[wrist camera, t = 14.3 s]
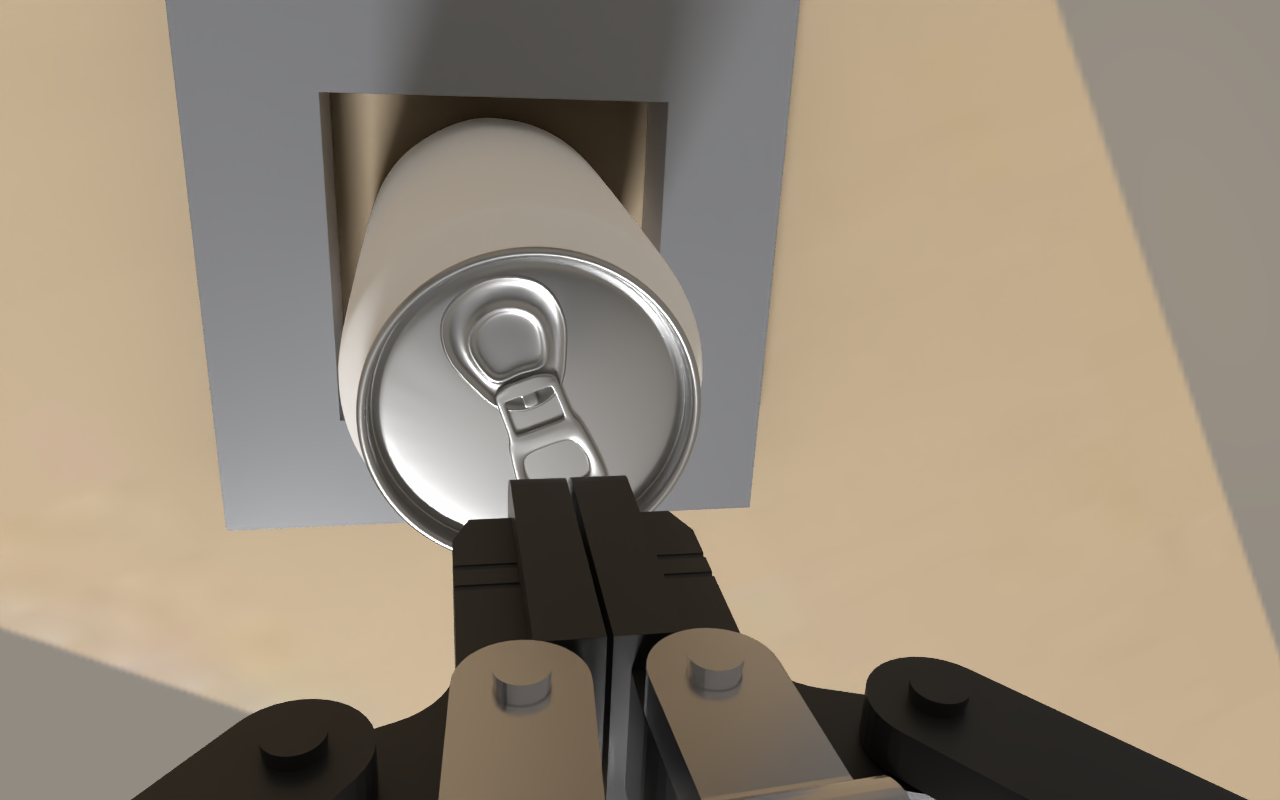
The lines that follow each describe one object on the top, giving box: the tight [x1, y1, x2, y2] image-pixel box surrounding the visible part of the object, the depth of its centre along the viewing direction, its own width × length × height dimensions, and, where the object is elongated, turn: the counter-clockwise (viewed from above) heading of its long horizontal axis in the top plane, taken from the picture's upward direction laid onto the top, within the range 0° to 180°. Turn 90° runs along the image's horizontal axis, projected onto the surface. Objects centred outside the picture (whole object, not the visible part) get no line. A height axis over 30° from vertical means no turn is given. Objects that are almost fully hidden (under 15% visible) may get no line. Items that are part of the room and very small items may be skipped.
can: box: [338, 118, 702, 551], centre depth 22 cm, size 6×6×12 cm
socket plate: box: [165, 0, 800, 531], centre depth 27 cm, size 14×14×2 cm
